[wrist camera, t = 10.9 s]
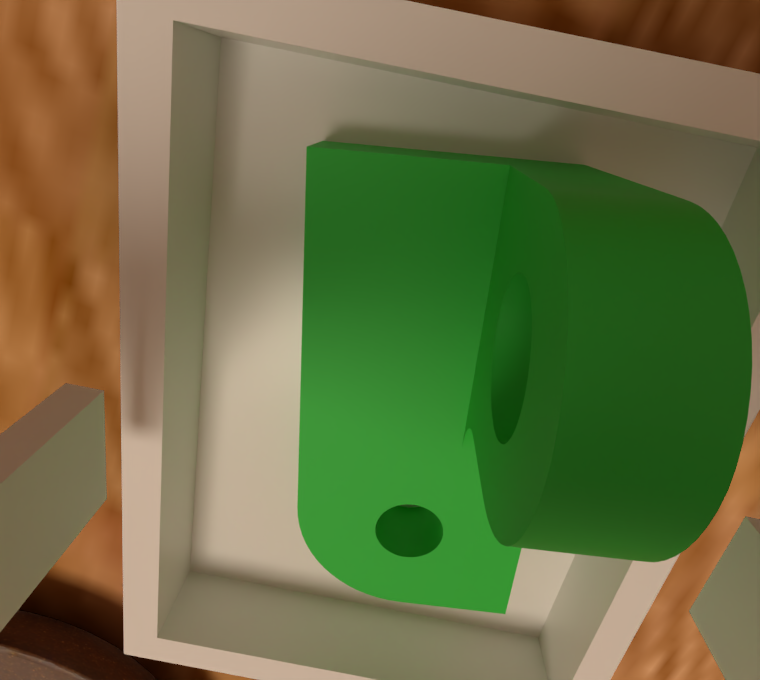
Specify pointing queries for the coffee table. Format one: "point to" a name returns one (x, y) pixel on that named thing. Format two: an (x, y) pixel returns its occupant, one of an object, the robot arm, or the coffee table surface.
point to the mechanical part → (508, 369)
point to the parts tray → (285, 301)
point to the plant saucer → (60, 653)
